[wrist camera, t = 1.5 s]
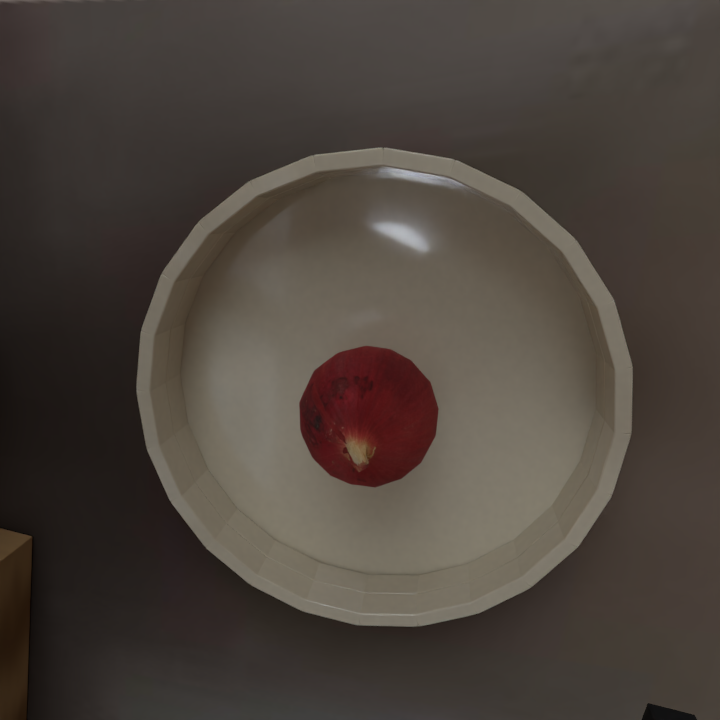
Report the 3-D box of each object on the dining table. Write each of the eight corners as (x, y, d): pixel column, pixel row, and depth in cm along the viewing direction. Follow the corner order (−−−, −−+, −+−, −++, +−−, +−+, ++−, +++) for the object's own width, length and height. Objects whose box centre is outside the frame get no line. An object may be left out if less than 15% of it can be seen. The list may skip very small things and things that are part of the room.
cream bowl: (193, 122, 27) (157, 108, 24) (670, 204, 25) (706, 201, 21) (155, 530, 32) (121, 566, 29) (544, 625, 30) (555, 676, 27)
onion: (301, 413, 29) (248, 483, 21) (349, 311, 28) (310, 346, 20) (406, 465, 29) (391, 554, 21) (460, 365, 27) (464, 422, 20)
